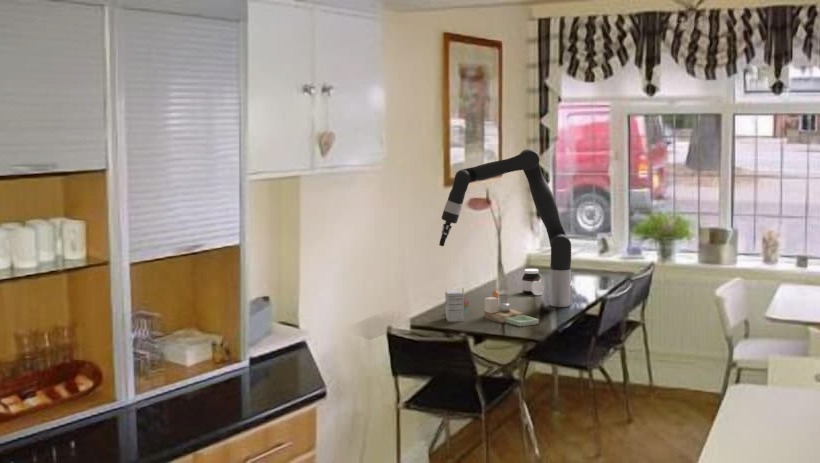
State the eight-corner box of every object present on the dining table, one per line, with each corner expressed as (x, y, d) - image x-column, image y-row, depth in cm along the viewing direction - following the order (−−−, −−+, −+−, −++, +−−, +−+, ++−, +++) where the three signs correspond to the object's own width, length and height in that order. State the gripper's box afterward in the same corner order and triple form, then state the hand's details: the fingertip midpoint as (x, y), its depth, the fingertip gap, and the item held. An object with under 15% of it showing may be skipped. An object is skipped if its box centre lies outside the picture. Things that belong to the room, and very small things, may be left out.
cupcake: (471, 311, 448) (470, 286, 446) (466, 315, 440) (465, 289, 438) (453, 310, 450) (452, 285, 449) (447, 314, 443) (447, 288, 441)
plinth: (507, 313, 442) (507, 306, 442) (525, 318, 431) (525, 311, 431) (484, 317, 435) (484, 310, 435) (502, 323, 424) (502, 315, 424)
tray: (523, 319, 430) (523, 315, 430) (538, 323, 422) (538, 319, 421) (505, 322, 425) (505, 318, 424) (520, 327, 416) (520, 322, 416)
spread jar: (529, 290, 494) (529, 267, 493) (549, 292, 488) (549, 269, 486) (517, 294, 484) (517, 271, 483) (538, 296, 478) (538, 273, 476)
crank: (512, 311, 431) (512, 295, 430) (502, 312, 430) (502, 296, 429) (499, 305, 443) (499, 290, 442) (489, 306, 441) (489, 291, 440)
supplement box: (445, 318, 436) (444, 290, 434) (461, 317, 437) (461, 289, 435) (447, 321, 429) (446, 293, 427) (464, 321, 429) (463, 292, 428)
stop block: (492, 310, 436) (492, 296, 436) (497, 311, 433) (497, 298, 432) (484, 311, 434) (484, 298, 433) (490, 312, 431) (490, 299, 430)
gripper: (459, 215, 447) (448, 249, 449) (459, 212, 461) (449, 244, 463) (443, 210, 447) (433, 244, 449) (444, 207, 461) (434, 240, 463)
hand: (441, 244), depth 456 cm, fingers open, 8 cm apart
